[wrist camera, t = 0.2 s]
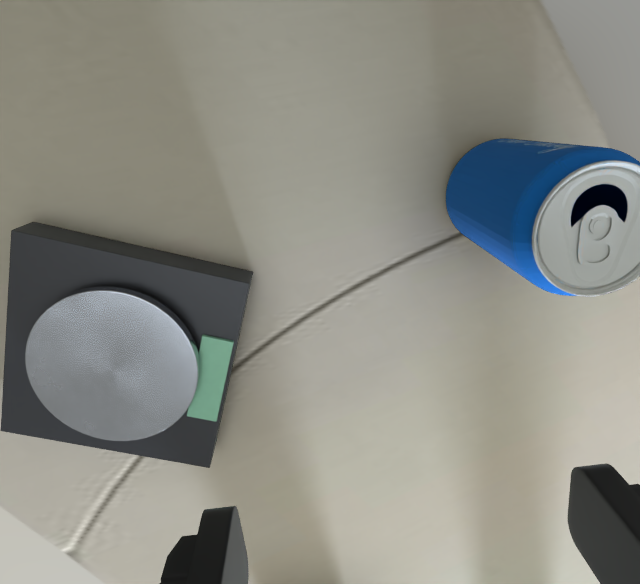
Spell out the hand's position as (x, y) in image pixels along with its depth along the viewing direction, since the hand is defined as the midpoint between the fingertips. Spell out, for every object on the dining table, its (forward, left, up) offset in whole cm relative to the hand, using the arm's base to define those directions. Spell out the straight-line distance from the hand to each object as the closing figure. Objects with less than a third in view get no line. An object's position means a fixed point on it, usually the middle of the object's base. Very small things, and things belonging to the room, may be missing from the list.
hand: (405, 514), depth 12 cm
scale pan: (-6, -14, -19) cm, 24 cm away
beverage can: (+4, +10, -22) cm, 25 cm away
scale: (-6, -14, -22) cm, 27 cm away
